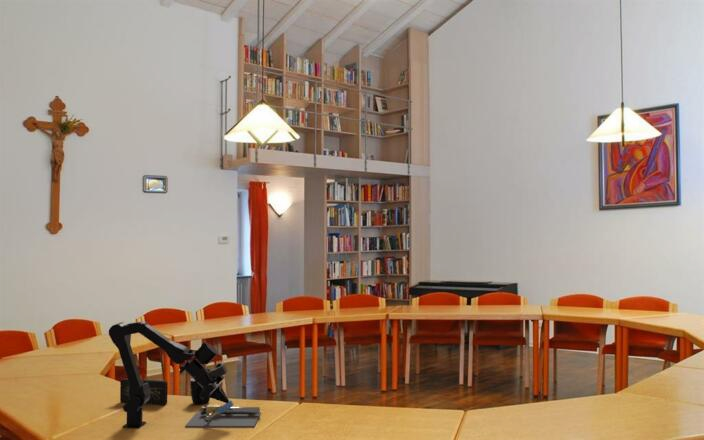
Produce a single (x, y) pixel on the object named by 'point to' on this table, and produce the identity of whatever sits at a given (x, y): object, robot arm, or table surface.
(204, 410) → the valve pipe
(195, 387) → the mug
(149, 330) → the robot arm
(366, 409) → the table surface
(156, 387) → the nameplate
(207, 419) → the valve lever
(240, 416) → the gray mounting plate
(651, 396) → the table surface
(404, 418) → the table surface
